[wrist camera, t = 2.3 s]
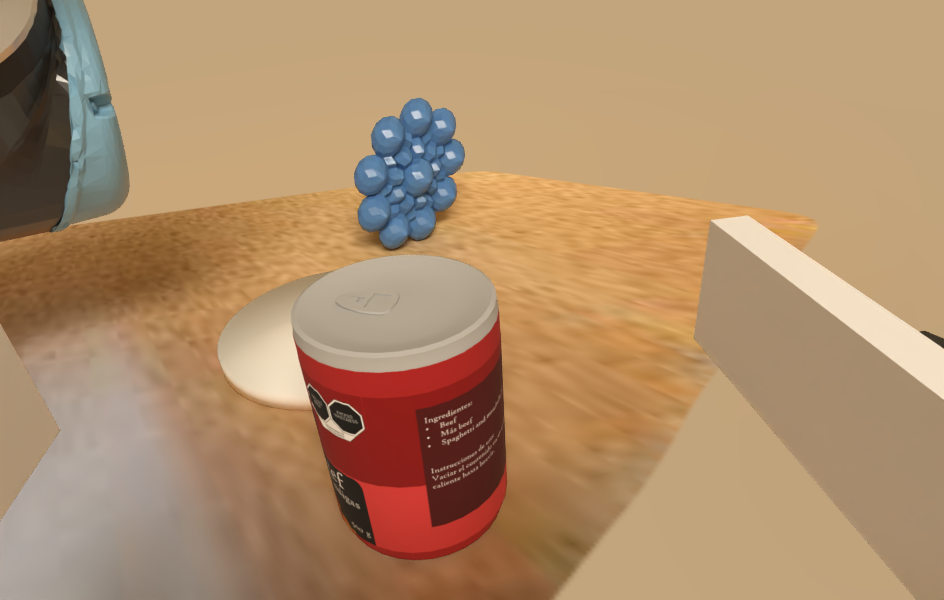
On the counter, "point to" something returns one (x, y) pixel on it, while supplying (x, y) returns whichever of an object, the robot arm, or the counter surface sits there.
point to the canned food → (407, 399)
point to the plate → (266, 349)
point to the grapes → (409, 173)
